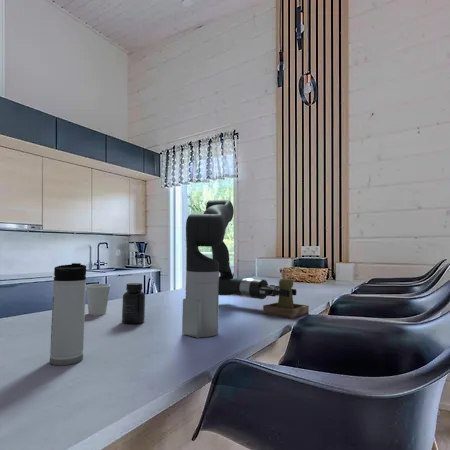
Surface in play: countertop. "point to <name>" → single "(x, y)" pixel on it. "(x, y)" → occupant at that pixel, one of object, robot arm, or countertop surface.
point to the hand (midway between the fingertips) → (292, 293)
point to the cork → (283, 300)
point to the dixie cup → (97, 298)
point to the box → (286, 310)
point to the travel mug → (68, 314)
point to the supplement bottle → (133, 304)
